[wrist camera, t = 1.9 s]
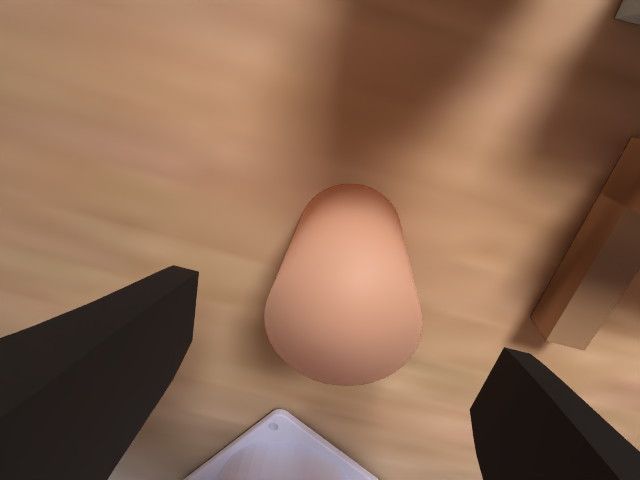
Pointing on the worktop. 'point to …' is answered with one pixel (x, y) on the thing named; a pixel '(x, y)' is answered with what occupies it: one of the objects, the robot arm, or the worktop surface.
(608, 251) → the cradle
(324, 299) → the pink egg shape
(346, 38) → the worktop surface
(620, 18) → the backstop board
